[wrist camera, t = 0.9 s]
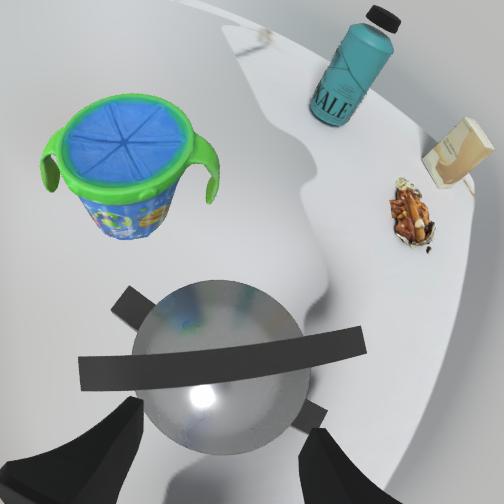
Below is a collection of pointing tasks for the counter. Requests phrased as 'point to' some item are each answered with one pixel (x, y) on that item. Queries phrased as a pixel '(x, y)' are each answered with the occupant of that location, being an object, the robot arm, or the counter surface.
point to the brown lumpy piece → (411, 216)
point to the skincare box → (457, 153)
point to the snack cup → (127, 161)
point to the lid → (220, 366)
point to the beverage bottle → (354, 67)
